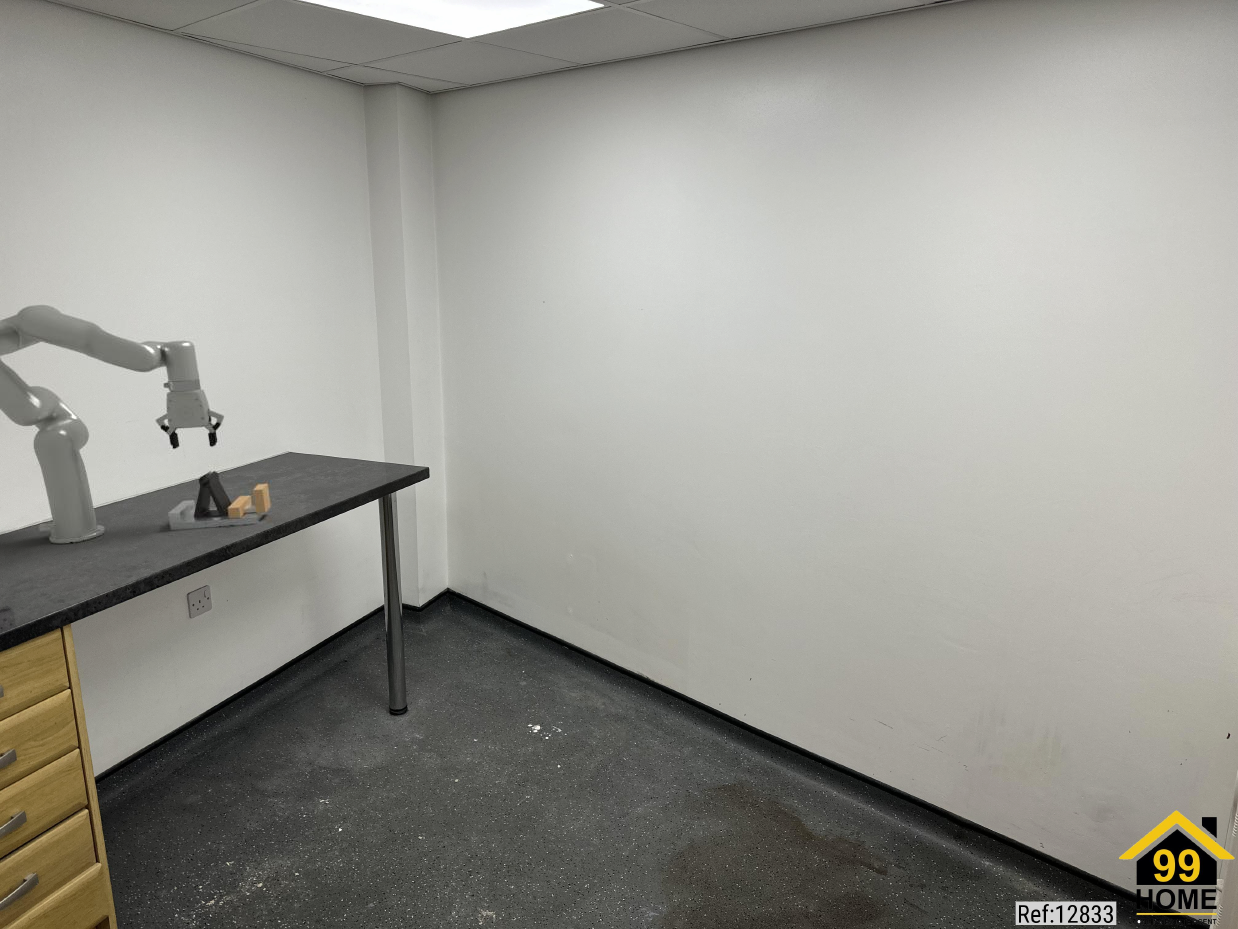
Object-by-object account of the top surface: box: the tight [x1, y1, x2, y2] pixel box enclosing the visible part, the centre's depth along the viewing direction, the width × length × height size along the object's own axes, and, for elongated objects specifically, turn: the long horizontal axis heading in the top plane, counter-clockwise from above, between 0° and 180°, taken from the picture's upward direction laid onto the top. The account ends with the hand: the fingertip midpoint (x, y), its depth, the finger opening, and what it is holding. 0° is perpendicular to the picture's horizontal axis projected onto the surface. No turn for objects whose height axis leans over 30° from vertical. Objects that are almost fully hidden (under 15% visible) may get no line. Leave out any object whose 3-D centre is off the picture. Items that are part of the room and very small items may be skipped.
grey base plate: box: [169, 507, 266, 531], centre depth 223 cm, size 22×12×2 cm, turn 101°
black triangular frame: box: [194, 470, 233, 518], centre depth 221 cm, size 9×6×12 cm, turn 94°
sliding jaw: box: [228, 483, 272, 518], centre depth 223 cm, size 9×12×7 cm
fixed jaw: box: [167, 499, 196, 524], centre depth 220 cm, size 3×12×3 cm, turn 11°
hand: (194, 446), depth 217 cm, fingers open, 9 cm apart
